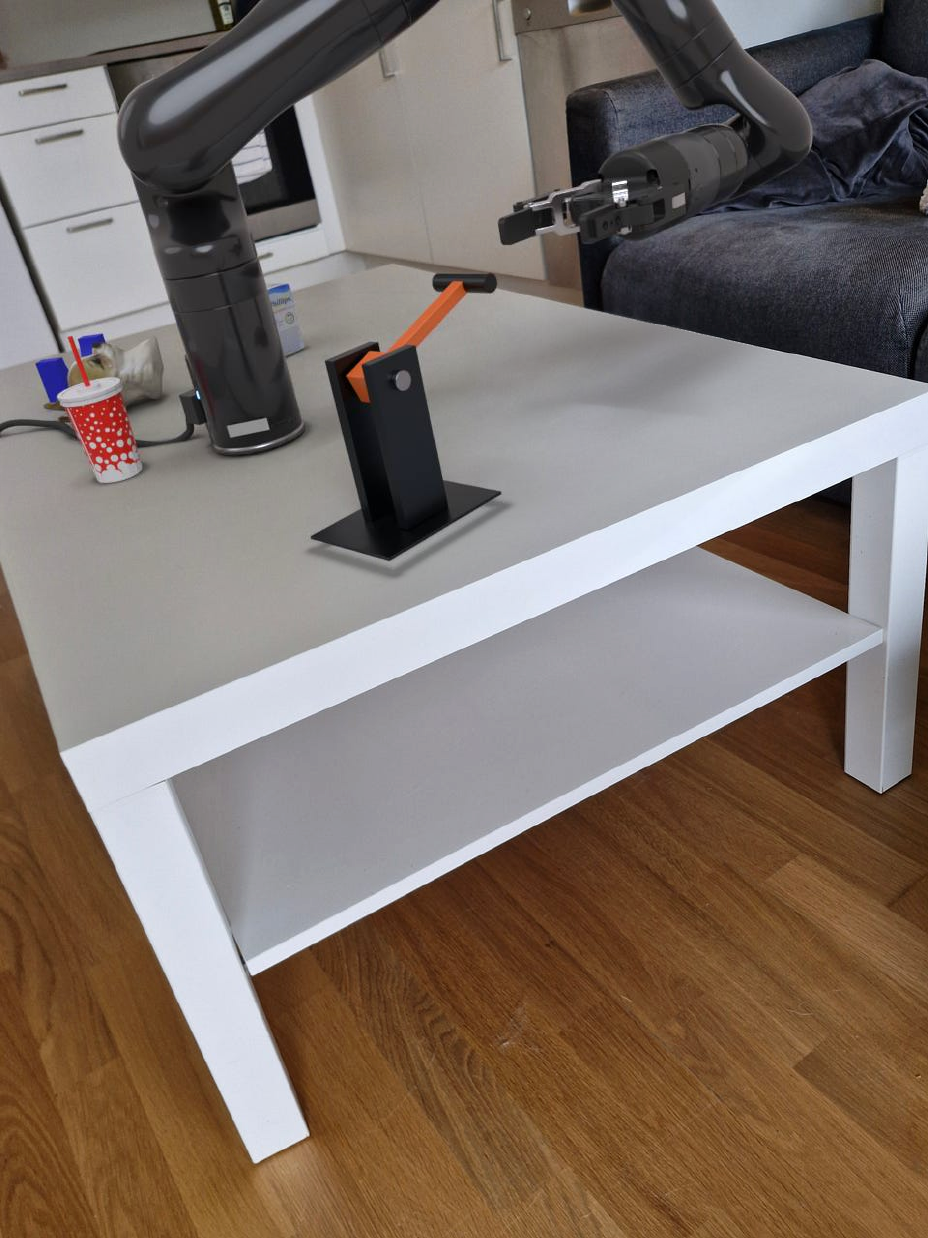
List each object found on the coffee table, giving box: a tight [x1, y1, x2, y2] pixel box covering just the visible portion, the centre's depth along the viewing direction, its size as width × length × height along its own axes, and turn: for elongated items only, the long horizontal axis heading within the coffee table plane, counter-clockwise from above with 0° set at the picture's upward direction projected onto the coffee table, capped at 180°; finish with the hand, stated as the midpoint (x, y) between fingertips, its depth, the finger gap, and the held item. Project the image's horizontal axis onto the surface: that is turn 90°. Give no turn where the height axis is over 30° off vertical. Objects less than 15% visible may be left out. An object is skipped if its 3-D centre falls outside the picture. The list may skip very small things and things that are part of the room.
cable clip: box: [34, 332, 107, 403], centre depth 136 cm, size 12×4×6 cm, turn 169°
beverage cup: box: [57, 335, 144, 484], centre depth 101 cm, size 6×6×14 cm
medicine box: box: [265, 283, 306, 358], centre depth 136 cm, size 8×4×9 cm, turn 49°
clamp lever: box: [347, 272, 498, 403], centre depth 76 cm, size 13×6×2 cm, turn 136°
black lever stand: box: [310, 341, 502, 562], centre depth 76 cm, size 12×9×14 cm
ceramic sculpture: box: [42, 334, 165, 424], centre depth 124 cm, size 11×9×15 cm
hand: (541, 231), depth 83 cm, fingers open, 8 cm apart
